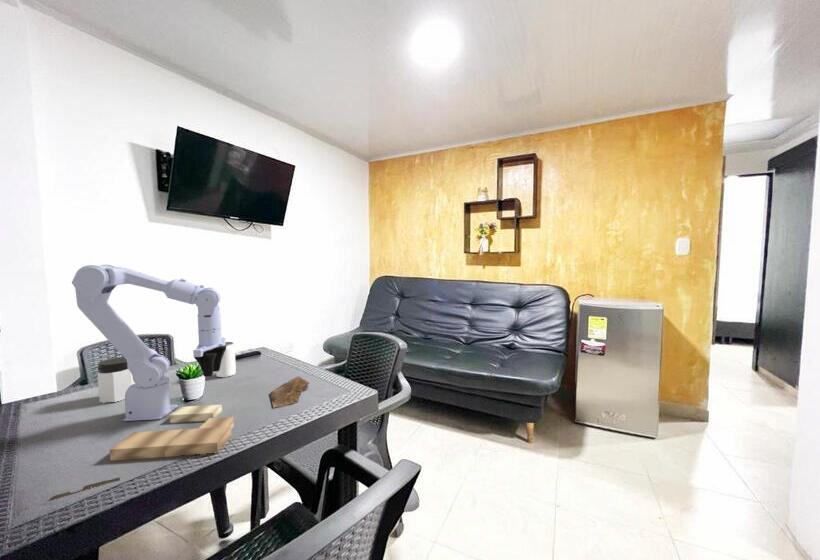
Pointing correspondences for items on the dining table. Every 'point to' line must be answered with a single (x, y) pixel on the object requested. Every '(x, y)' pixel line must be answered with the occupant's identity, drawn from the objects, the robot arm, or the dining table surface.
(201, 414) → the plank
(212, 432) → the angled wooden block
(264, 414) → the dining table surface
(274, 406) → the wooden fragment
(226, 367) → the can
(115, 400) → the jar
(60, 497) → the wooden stick
